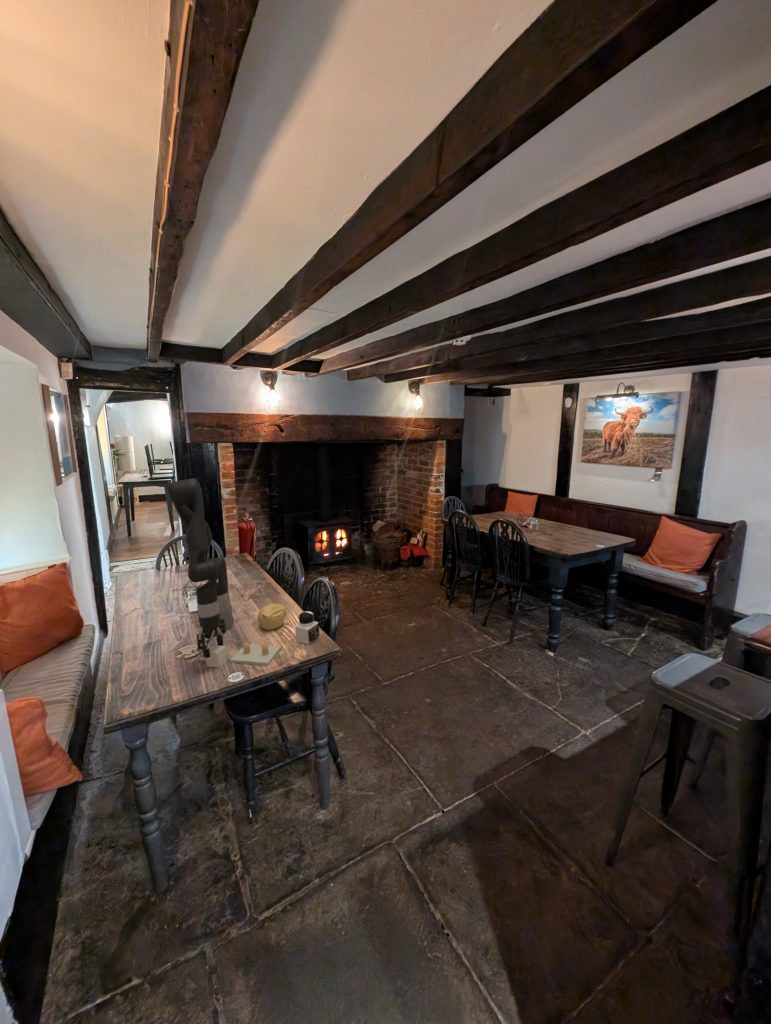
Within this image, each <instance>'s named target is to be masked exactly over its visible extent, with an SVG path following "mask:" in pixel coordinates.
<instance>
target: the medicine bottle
mask: <svg viewBox="0 0 771 1024" xmlns="http://www.w3.org/2000/svg"><path fill="white" fill-rule="evenodd" d="M298 619H299V621H298V622H299V623H297V624H296V625H295V627H294V629H295V636H296V637H295V638H296V642H298V643H302V644H305V645H311V644H313V643H314V642H315V641H316V640H318V639H319V638H320V626H319V625H320V624H319V622H318V621H315V618H314V613H313V612H312V611H303V612H300V614H299V615H298Z"/></svg>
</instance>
